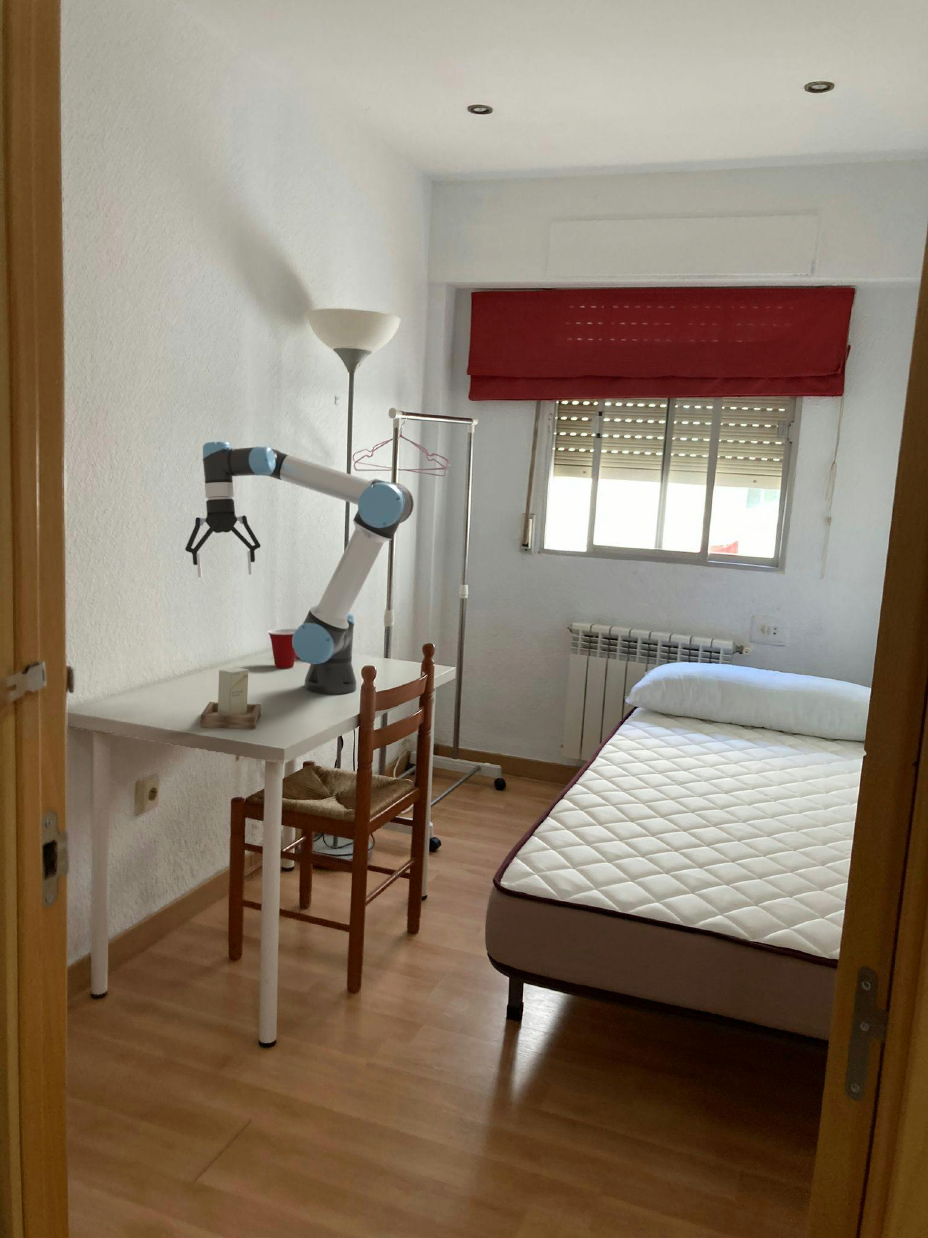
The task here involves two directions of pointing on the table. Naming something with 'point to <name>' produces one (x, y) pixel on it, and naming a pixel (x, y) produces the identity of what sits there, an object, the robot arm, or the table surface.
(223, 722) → the tray
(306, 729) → the table surface
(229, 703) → the skincare box
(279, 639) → the plastic cup
